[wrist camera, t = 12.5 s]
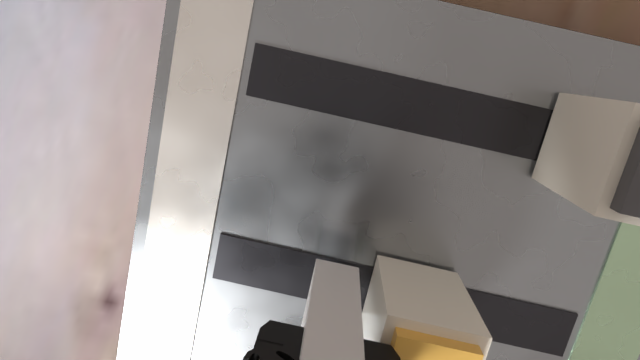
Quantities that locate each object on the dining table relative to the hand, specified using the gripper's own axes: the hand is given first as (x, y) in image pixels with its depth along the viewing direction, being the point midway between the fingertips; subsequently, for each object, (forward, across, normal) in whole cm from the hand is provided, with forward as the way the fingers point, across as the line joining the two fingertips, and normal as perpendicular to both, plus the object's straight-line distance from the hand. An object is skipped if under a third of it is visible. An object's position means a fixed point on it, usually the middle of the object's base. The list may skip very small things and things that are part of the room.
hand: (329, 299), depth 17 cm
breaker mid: (+1, +3, 0) cm, 3 cm away
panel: (+3, +2, 0) cm, 4 cm away
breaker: (+2, +7, +7) cm, 10 cm away
